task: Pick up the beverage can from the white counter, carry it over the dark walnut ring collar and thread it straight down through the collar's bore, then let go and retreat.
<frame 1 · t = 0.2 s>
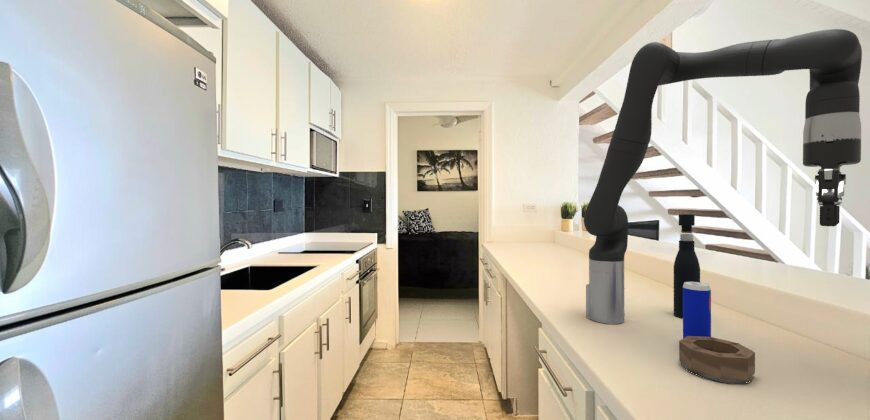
hand: (829, 225, 70), 29 cm above the worktop, fingers open, 8 cm apart
collar: (715, 370, 72), on the worktop
beverage can: (696, 351, 82), on the worktop
wine bottle: (686, 317, 107), on the worktop
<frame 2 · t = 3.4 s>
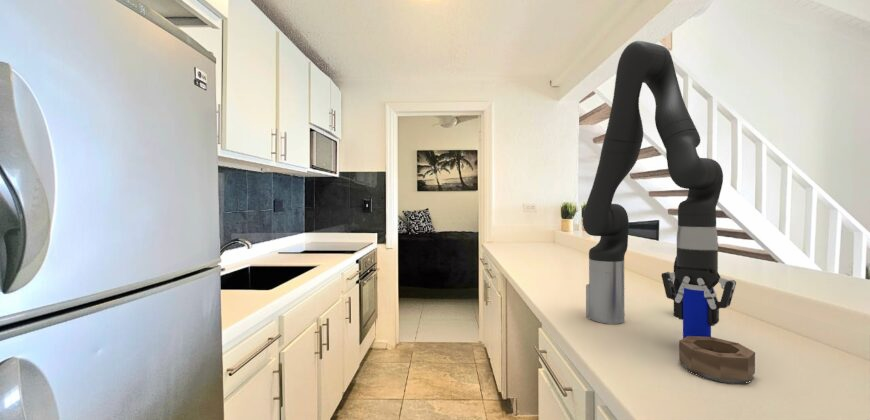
hand: (696, 321, 82), 6 cm above the worktop, fingers closed on beverage can, 5 cm apart
beverage can: (696, 351, 82), on the worktop, touching gripper
everything else where it was.
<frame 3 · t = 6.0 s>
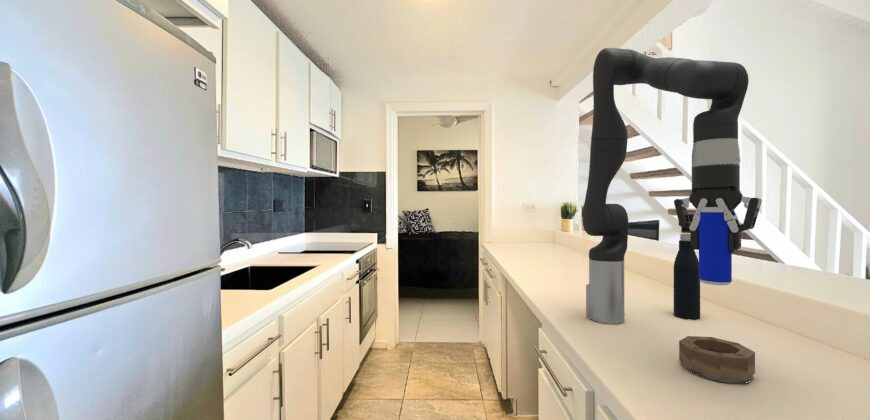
hand: (715, 250, 72), 24 cm above the worktop, fingers closed on beverage can, 5 cm apart
beverage can: (714, 284, 72), point 17 cm above the worktop, touching gripper
everything else where it was.
when the fingers open (8 cm above the worktop, at t = 8.8 s): beverage can drops 1 cm, resting on collar.
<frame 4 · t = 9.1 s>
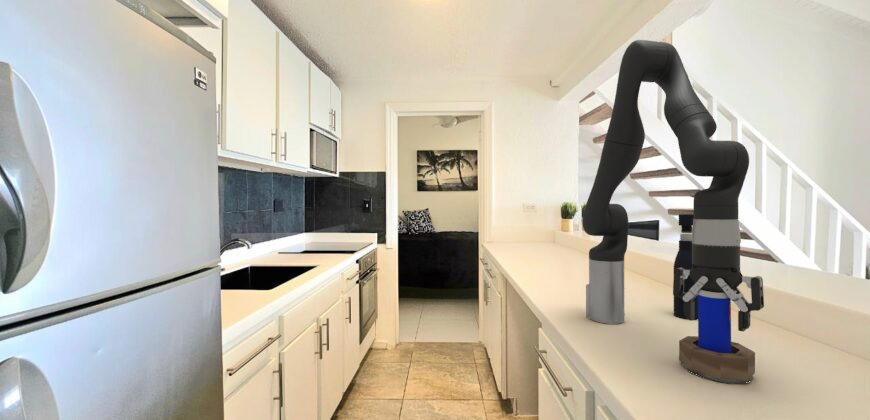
hand: (715, 324, 72), 9 cm above the worktop, fingers open, 8 cm apart
beverage can: (714, 366, 72), point 1 cm above the worktop, touching collar
everything else where it was.
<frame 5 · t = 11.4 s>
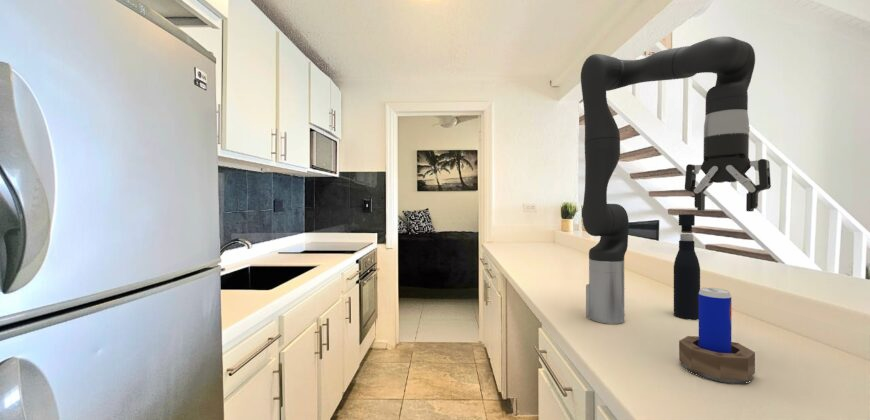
hand: (724, 210, 78), 31 cm above the worktop, fingers open, 8 cm apart
nothing on the worktop moved.
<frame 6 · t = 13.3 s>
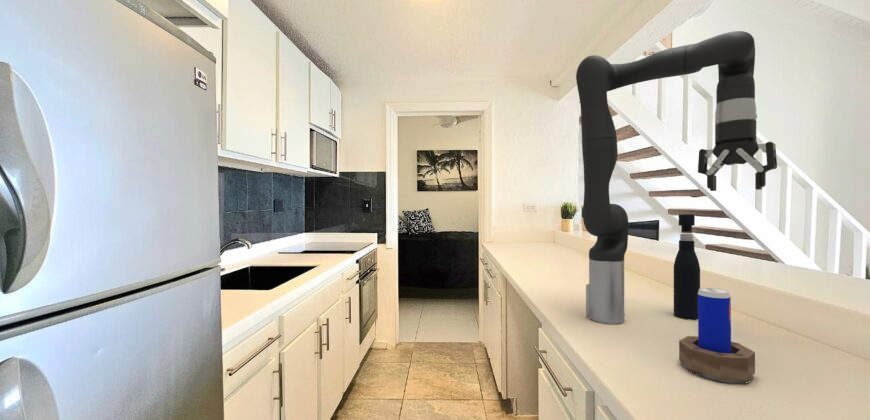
hand: (735, 190, 86), 36 cm above the worktop, fingers open, 8 cm apart
nothing on the worktop moved.
at the end: beverage can 0.2 cm from the collar (horizontally); beverage can point 0.6 cm above the worktop; beverage can tilted 0° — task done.
